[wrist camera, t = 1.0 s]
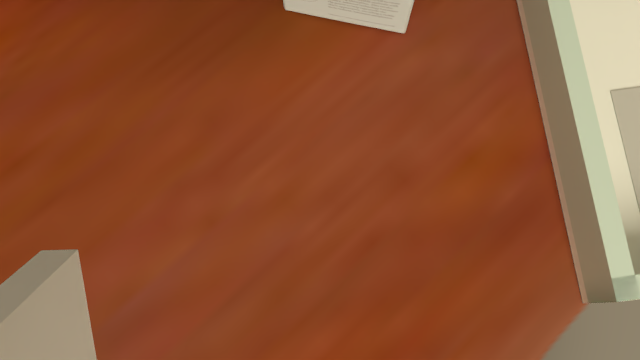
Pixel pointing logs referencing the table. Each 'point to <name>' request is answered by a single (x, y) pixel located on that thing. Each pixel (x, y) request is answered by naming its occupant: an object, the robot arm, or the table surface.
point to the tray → (592, 132)
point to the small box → (358, 11)
